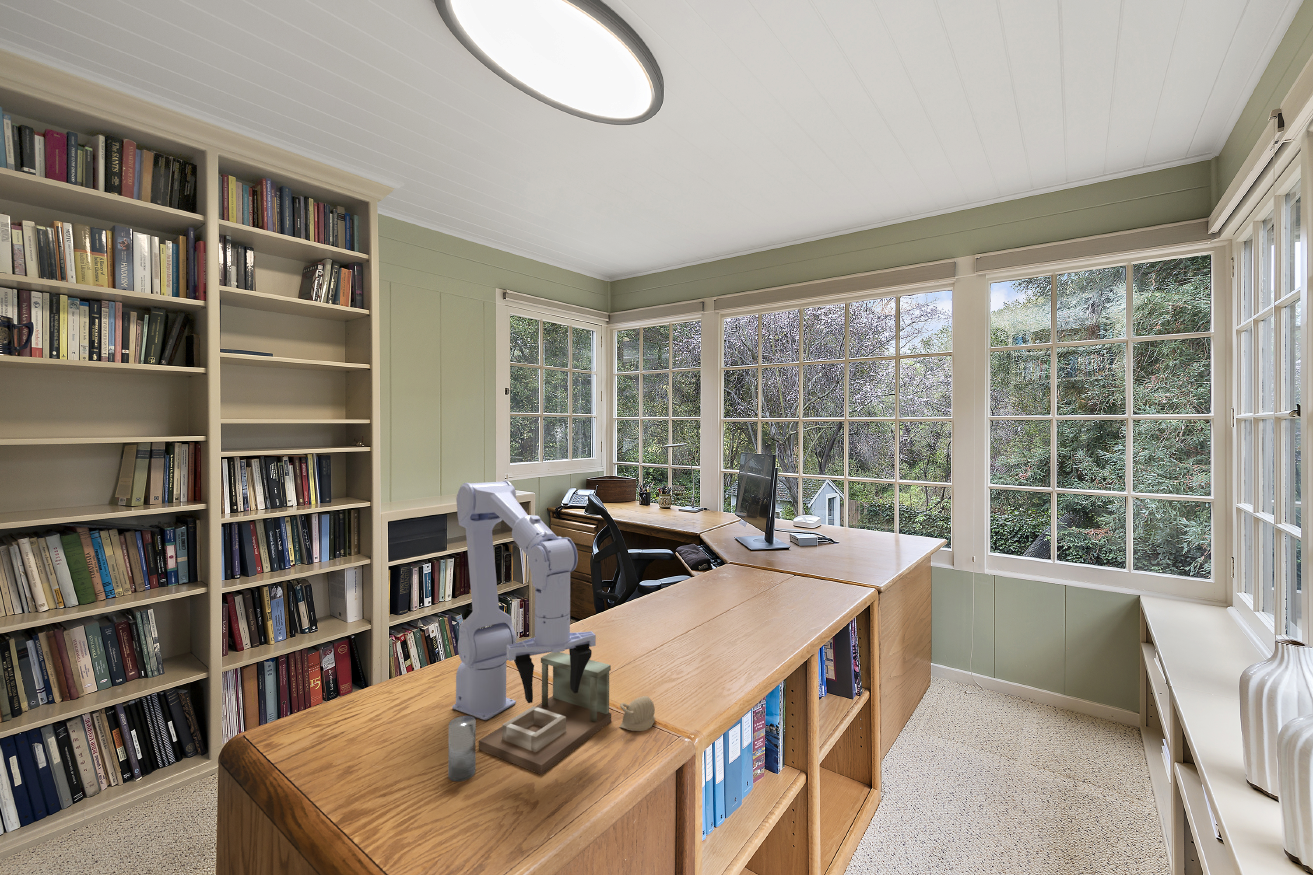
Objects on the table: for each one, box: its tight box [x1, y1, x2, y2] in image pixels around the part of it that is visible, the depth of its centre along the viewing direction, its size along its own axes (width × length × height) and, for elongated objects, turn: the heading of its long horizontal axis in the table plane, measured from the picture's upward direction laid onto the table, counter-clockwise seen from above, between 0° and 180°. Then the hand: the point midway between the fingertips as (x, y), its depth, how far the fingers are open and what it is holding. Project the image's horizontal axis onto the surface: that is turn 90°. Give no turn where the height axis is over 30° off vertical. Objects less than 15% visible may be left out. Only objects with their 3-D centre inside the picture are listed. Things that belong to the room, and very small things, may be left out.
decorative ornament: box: [619, 695, 656, 732], centre depth 100 cm, size 4×8×5 cm, turn 129°
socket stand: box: [478, 652, 612, 776], centre depth 97 cm, size 14×19×10 cm
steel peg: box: [447, 715, 477, 782], centre depth 85 cm, size 4×4×8 cm
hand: (552, 695), depth 90 cm, fingers open, 7 cm apart
